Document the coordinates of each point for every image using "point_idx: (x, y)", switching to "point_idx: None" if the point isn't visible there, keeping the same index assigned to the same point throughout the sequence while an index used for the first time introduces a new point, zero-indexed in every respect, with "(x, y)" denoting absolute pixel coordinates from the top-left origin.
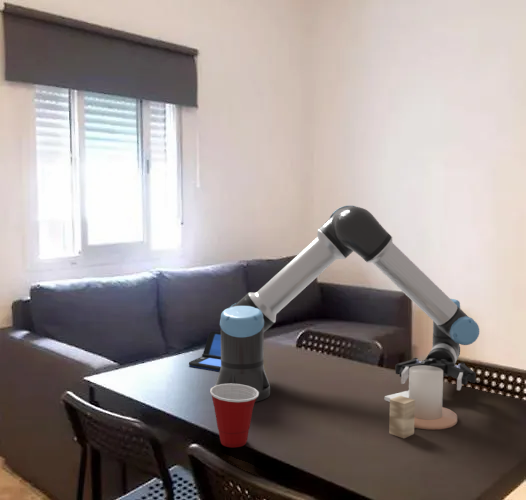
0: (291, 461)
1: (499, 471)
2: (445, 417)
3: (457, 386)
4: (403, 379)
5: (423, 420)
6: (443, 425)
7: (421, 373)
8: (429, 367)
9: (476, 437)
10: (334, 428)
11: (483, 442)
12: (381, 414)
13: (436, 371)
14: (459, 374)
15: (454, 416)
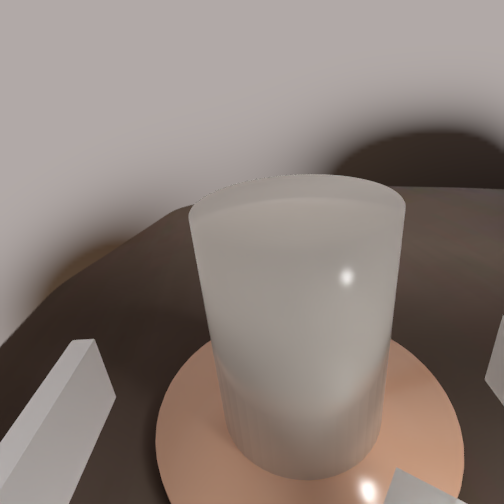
0: (429, 188)
1: (125, 245)
2: (210, 397)
3: (105, 380)
4: (497, 354)
5: None
6: None
7: (298, 177)
8: (284, 228)
9: (124, 333)
10: (493, 259)
11: (114, 315)
12: (482, 381)
13: (228, 204)
14: (4, 475)
15: (169, 422)
